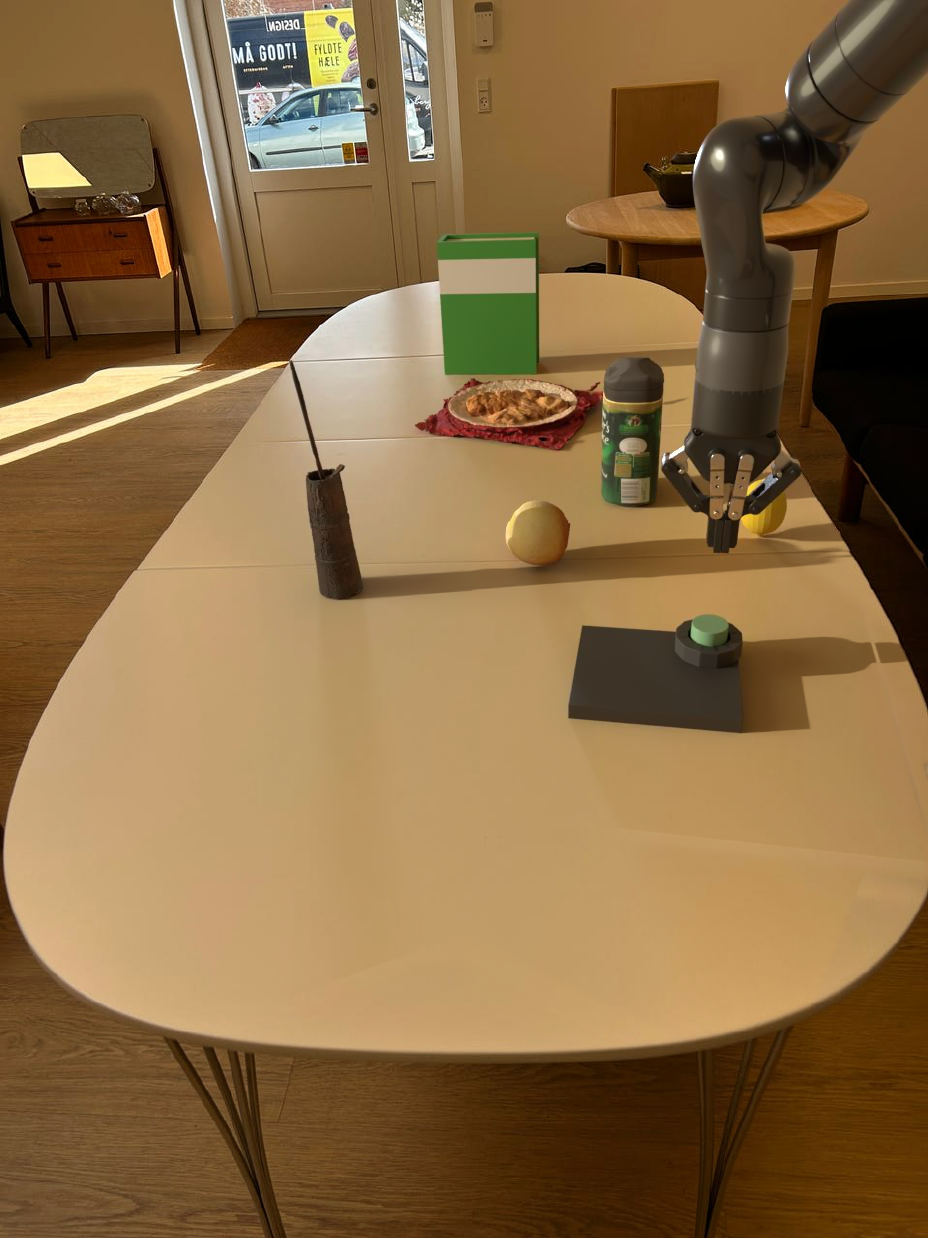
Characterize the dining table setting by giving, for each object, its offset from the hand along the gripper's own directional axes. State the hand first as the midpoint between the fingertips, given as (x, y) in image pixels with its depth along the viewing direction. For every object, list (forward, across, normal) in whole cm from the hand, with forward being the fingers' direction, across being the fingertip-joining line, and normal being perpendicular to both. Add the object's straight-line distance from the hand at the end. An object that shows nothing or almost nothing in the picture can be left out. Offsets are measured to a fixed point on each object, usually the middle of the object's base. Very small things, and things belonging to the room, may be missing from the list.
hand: (720, 549), depth 90 cm
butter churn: (+12, -42, +10) cm, 45 cm away
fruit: (+13, -20, +18) cm, 30 cm away
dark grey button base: (+12, -5, -6) cm, 15 cm away
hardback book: (+12, -39, +94) cm, 102 cm away
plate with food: (+12, -31, +68) cm, 75 cm away
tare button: (+9, 0, -2) cm, 9 cm away
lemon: (+13, +7, +27) cm, 31 cm away
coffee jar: (+13, -10, +38) cm, 42 cm away
